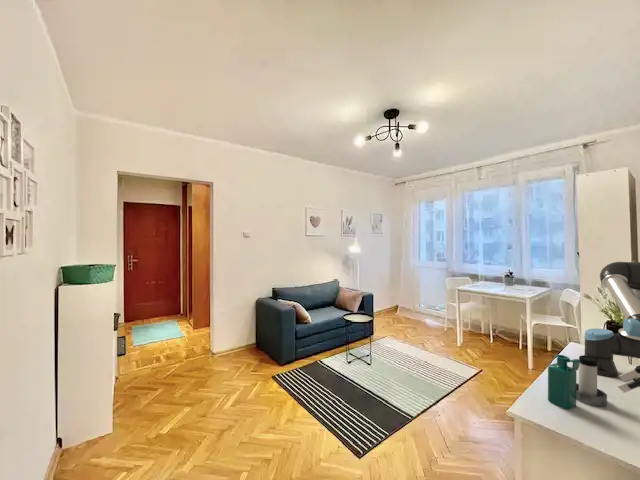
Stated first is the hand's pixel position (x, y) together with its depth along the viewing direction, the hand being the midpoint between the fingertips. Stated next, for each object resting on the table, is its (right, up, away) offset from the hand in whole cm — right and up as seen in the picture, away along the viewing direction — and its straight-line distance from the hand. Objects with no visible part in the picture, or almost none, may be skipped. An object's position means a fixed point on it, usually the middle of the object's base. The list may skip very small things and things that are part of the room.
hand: (621, 383), depth 123 cm
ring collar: (-7, -11, +8) cm, 16 cm away
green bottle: (-22, -11, +4) cm, 25 cm away
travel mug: (-7, -11, +8) cm, 16 cm away
